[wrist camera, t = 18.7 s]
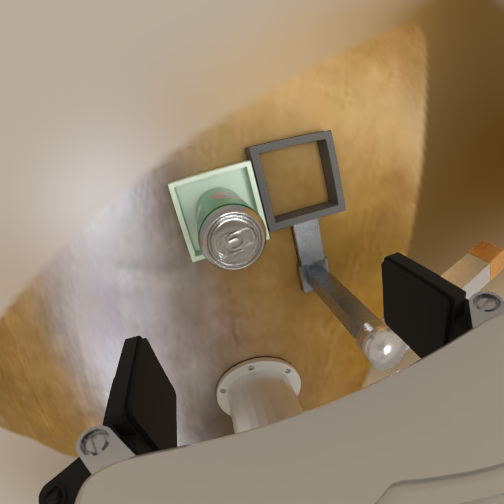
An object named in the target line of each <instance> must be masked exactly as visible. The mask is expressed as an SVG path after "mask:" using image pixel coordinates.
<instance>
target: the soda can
mask: <svg viewBox="0 0 504 504" xmlns="http://www.w3.org/2000/svg"><path fill="white" fill-rule="evenodd" d="M196 222H197V232H198V242H199V247H200V249H201V252H202V254H203V255H204V257H205V258H206V259H207V260H208V261H209V262H210V263H211V264H213V265H215V266H216V267H219V268H222V269H227V270H240V269H243V268H246V267H248V266H250V265H251V264H253V263H254V262H255V261H256V260H257V259H258V258H259V256H260V255H261V253H262V251H263V249H264V247H265V244H266V235H267V233H266V227H265V224H264V222H263V220H262V218H261V217H260V215H259V214H258V213H257V212H256V211H255V210H254V209H253V208H251V207H250V206H249V205H248V204H247V203H246V202H245V201H244V200H243V199H242V198H240V197H239V196H238V195H237V194H236V193H235V192H233V191H232V190H230V189H227V188H213V189H210V190H209V191H207V192H205V193H204V194H203V195H202V196H201V197H200V199H199V201H198V203H197V206H196Z"/></svg>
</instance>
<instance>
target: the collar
mask: <svg viewBox="0 0 504 504" xmlns="http://www.w3.org/2000/svg"><path fill="white" fill-rule="evenodd" d="M312 141H317V142H318V146H319V151H320V156H321V160H322V165H323V170H324V175H325V180H326V185H327V191H328V196H329V202H325V203H322V204H318V205H314V206H311V207H307V208H304V209H300V210H296V211H293V212H289V213H286V214H282V215H279V216H275V217H274V214H273V210H272V205H271V201H270V197H269V193H268V189H267V185H266V181H265V176H264V172H263V168H262V164H261V160H260V156H259V153H263V152H267V151H271V150H275V149H280V148H284V147H289V146H293V145H298V144H302V143H307V142H312ZM245 150H246V154H247V158H248V160H249V161H251V165H252V169H253V173H254V177H255V181H256V185H257V189H258V193H259V197H260V201H261V205H262V209H263V213H264V217H265V221H266V225H267V229H268V231H269V232H273V231H276V230H280V229H283V228H286V227H290V226H293V225H297V224H300V223H303V222H307V221H310V220H314V219H317V218H320V217H324V216H327V215H331V214H334V213H338V212H341V211H345V210H346V207H345V201H344V195H343V189H342V183H341V178H340V172H339V167H338V162H337V157H336V152H335V147H334V142H333V138H332V133H331V130H329V131H321V132H315V133H310V134H305V135H300V136H295V137H291V138H286V139H281V140H277V141H273V142H268V143H264V144H260V145H256V146H251V147H247V148H245Z"/></svg>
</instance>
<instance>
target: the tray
mask: <svg viewBox="0 0 504 504" xmlns="http://www.w3.org/2000/svg"><path fill="white" fill-rule="evenodd" d="M168 187H169V190H170V194H171V197H172V200H173V203H174V207H175V210H176V213H177V216H178V219H179V222H180V226H181V229H182V232H183V235H184V238H185V241H186V244H187V247H188V250H189V253H190V256H191V259H192V262H196V261H199V260H202V259H205V257H204V255H203V254H202V252H201V249H200V247H199V242H198V232H197V222H196V206H197V203H198V201H199V199H200V197H201V196H202V195H203V194H204V193H205V192H207V191H209V190H210V189H213V188H227V189H230V190H232V191H233V192H235V193H236V194H237V195H238V196H239V197H240V198H242V199H243V200H244V201H245V202H246V203H247V204H248V205H249V206H250V207H251V208H253V209H254V210H255V211H256V212H257V213H258V214H259V215H260V217H261V218H262V220H263V222H264V224H265V227H266V233H267V235H266V240H268V239H270V238H269V233H268V229H267V225H266V221H265V217H264V213H263V209H262V205H261V201H260V197H259V193H258V189H257V185H256V181H255V177H254V173H253V169H252V165H251V161H249V160H244V161H241V162H237V163H233V164H229V165H226V166H222V167H219V168H215V169H212V170H208V171H205V172H201V173H198V174H195V175H191V176H188V177H185V178H181V179H178V180H175V181H172V182H169V184H168Z"/></svg>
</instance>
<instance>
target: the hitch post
mask: <svg viewBox="0 0 504 504" xmlns="http://www.w3.org/2000/svg"><path fill="white" fill-rule="evenodd" d="M291 227H292V231H293V236H294V241H295V246H296V250H297V255H298V260H299V264H297V267H298V272H299V277H300V282H301V287H302V290H303V291H304V293H306V292H309V291H311V290H314V291H315V292H316V293H317V295H318V296H319V297H320V298H321V299H322V300H323V302H324V303H325V304H326V305H327V306H328V307H329V309H330V310H331V311H332V312H333V313H334V314H335V316H336V317H337V318H338V319H339V320H340V322H341V323H342V324H343V325H344V326H345V327H346V329H347V330H348V331H349V332H350V333H351V335H352V336H353V337H354V338H355V339H356V335H357V333H358V331H359V330H360V328H361V327H362V326H363V325H364V324H365V323H366V322H368V321H370V320H372V319H376V318H377V317H376V316H375V315H374V314H373V313H372V312H371V311H370V310H369V309H368V308H367V307H366V306H365V305H364V304H362V303H361V302H360V301H359V300H358V299H357V298H356V297H355V296H354V295H353V294H352V293H351V292H350V291H349V290H348V289H346V288H345V287H344V286H343V285H342V284H341V283H340V282H339V281H338V280H337V279H336V278H335V277H334V276H332V275H331V274H330V273H329V268H328V261H327V258H326V257H325V256H324V251H323V245H322V240H321V234H320V228H319V223H318V218H317V219H314V220H310V221H307V222H303V223H300V224H297V225H293V226H291Z"/></svg>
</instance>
